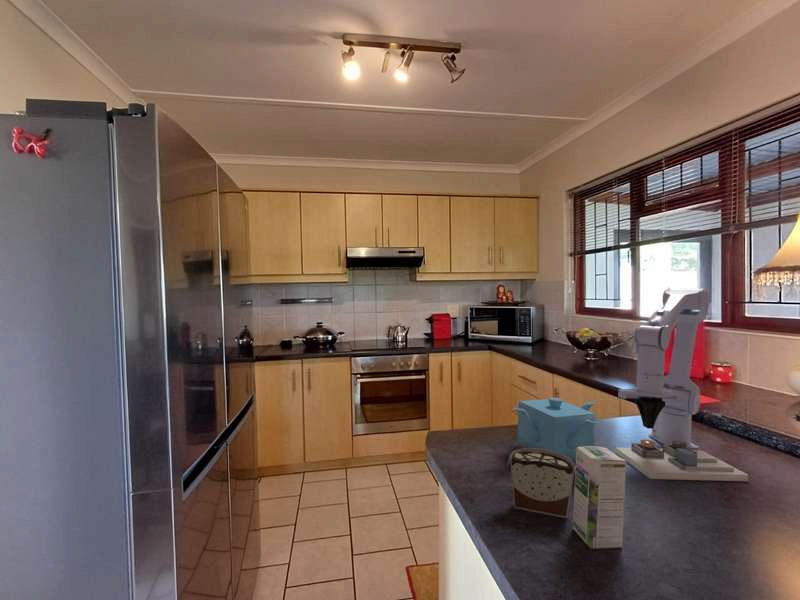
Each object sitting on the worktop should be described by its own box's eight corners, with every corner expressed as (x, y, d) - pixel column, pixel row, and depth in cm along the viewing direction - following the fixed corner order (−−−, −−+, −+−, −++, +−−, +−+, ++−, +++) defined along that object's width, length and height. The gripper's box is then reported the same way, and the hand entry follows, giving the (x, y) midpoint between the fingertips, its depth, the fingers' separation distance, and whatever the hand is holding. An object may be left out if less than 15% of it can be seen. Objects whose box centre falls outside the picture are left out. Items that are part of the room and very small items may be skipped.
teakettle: (522, 438, 110) (523, 386, 110) (596, 451, 102) (597, 395, 102) (509, 463, 94) (511, 402, 93) (596, 482, 85) (598, 415, 85)
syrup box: (571, 528, 68) (573, 445, 68) (603, 527, 68) (606, 445, 68) (589, 549, 62) (592, 460, 62) (624, 548, 63) (627, 459, 62)
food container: (573, 503, 76) (574, 452, 76) (576, 520, 70) (578, 465, 70) (507, 491, 80) (509, 443, 80) (506, 506, 74) (507, 454, 74)
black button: (669, 446, 99) (669, 440, 99) (680, 446, 99) (681, 440, 99) (677, 451, 96) (677, 444, 96) (689, 451, 96) (689, 445, 96)
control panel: (615, 453, 101) (615, 441, 101) (699, 455, 101) (700, 443, 101) (649, 478, 87) (650, 465, 87) (747, 481, 87) (748, 467, 87)
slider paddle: (675, 460, 93) (675, 448, 93) (685, 461, 93) (685, 448, 93) (686, 467, 89) (686, 454, 89) (696, 467, 89) (697, 454, 89)
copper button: (637, 445, 99) (638, 439, 99) (649, 445, 99) (649, 439, 99) (645, 450, 96) (645, 443, 96) (657, 450, 96) (657, 444, 96)
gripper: (630, 375, 93) (628, 432, 94) (691, 377, 93) (688, 433, 94) (614, 370, 100) (612, 422, 101) (670, 371, 100) (668, 423, 101)
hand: (648, 427), depth 98 cm, fingers closed
